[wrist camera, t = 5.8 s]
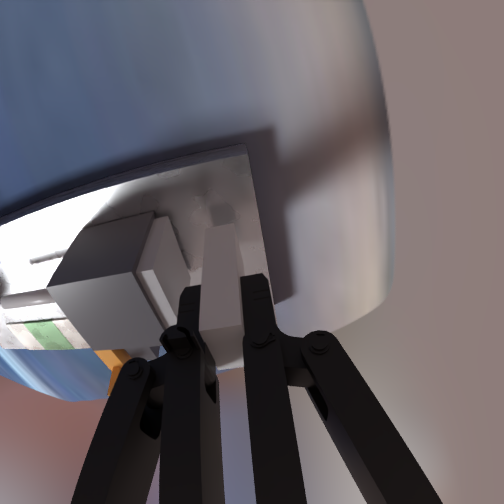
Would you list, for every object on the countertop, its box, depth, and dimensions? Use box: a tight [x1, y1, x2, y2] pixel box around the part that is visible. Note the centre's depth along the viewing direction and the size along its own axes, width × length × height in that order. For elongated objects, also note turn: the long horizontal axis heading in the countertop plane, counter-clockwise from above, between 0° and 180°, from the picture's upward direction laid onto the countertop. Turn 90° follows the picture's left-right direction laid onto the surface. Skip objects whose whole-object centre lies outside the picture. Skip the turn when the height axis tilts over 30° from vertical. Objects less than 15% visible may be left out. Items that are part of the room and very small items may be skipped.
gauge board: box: [0, 143, 277, 350], centre depth 17 cm, size 30×13×8 cm, turn 99°
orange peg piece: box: [94, 349, 132, 396], centre depth 19 cm, size 2×3×5 cm, turn 9°
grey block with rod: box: [0, 212, 191, 360], centre depth 17 cm, size 14×10×5 cm
